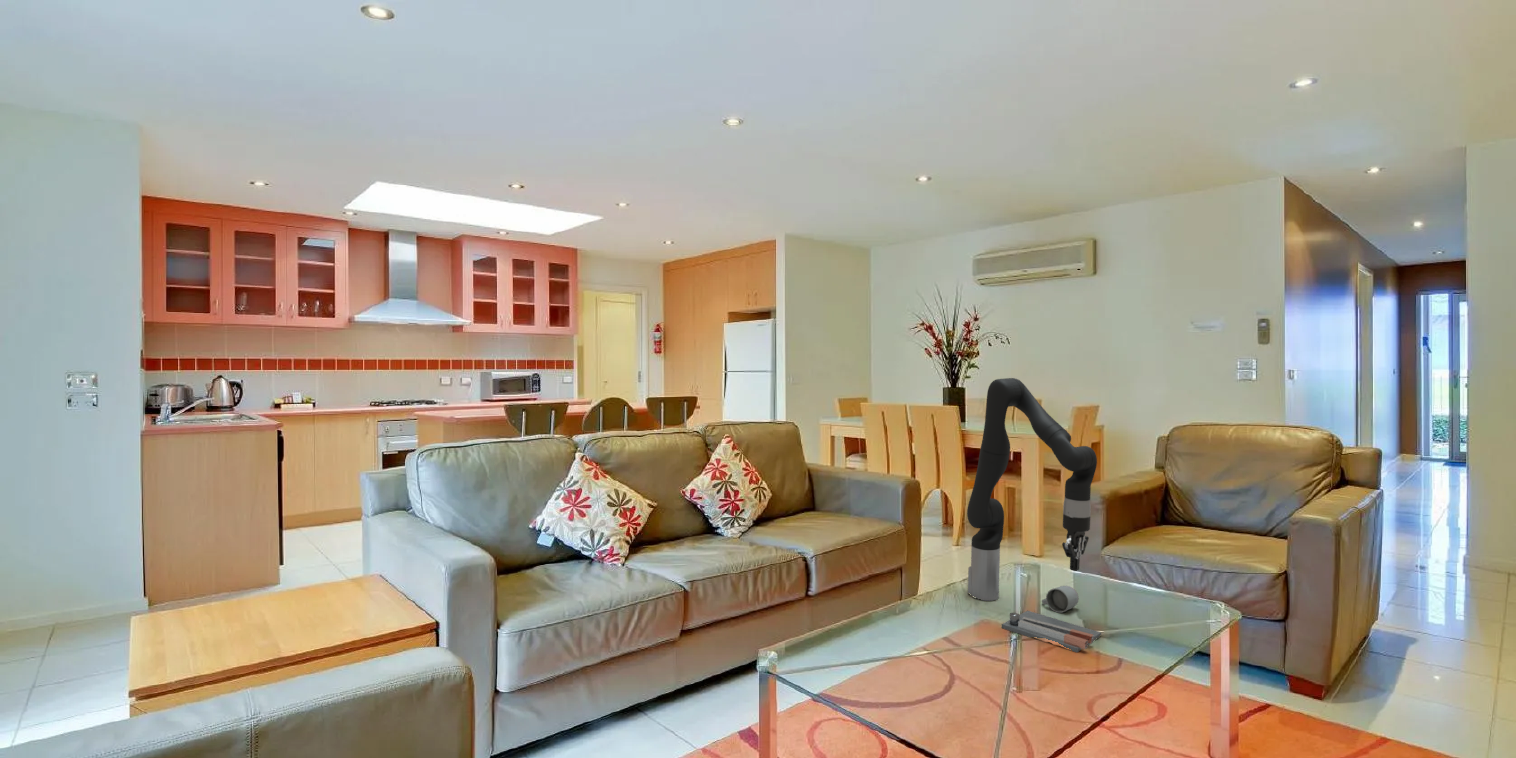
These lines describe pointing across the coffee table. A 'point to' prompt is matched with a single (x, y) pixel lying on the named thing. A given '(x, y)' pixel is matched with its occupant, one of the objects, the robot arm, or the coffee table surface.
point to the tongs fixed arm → (1048, 632)
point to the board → (1050, 621)
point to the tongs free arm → (1062, 629)
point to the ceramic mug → (1061, 598)
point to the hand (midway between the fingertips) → (1074, 570)
